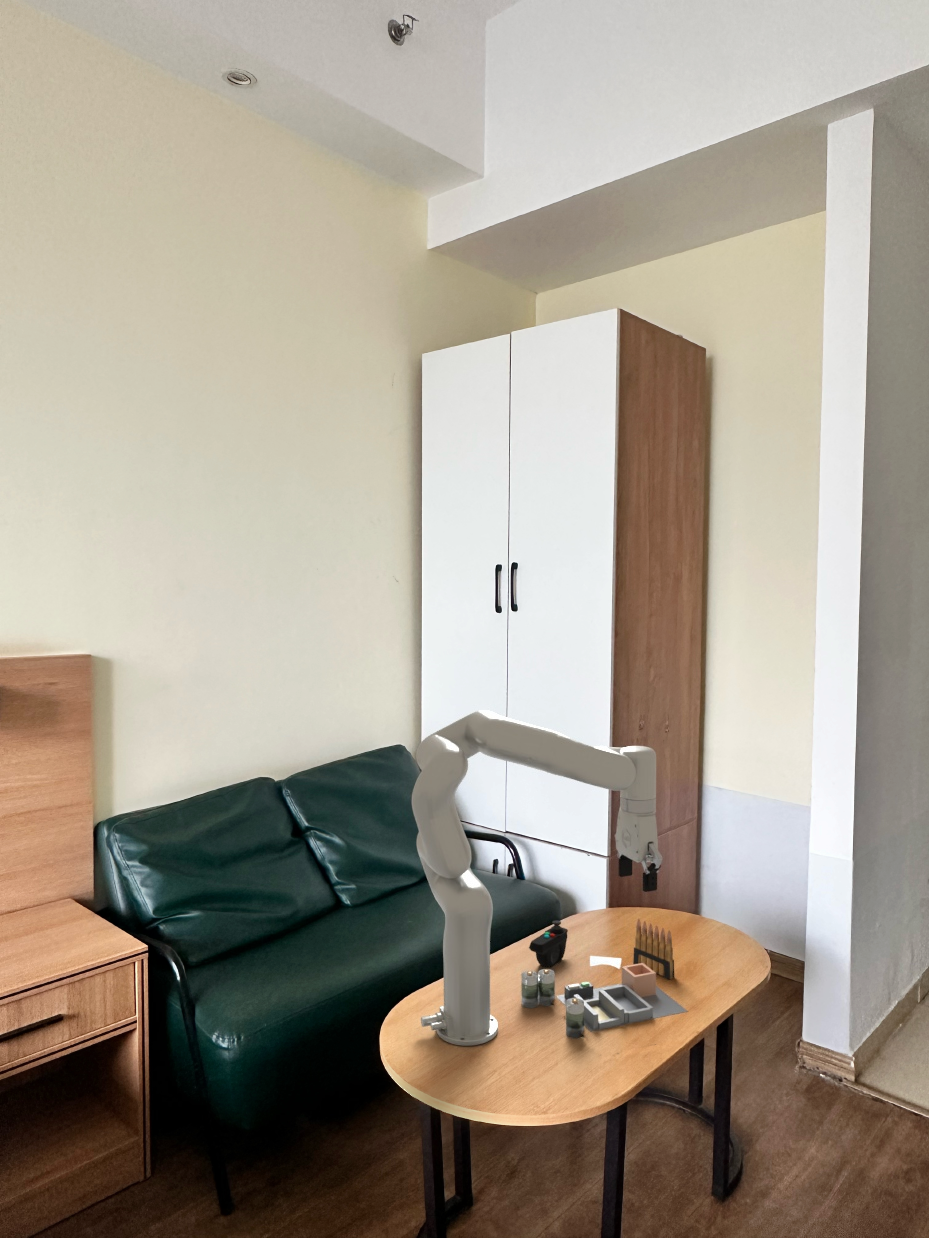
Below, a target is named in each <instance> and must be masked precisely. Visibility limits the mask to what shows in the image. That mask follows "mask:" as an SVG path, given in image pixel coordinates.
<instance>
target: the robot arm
mask: <svg viewBox="0 0 929 1238" xmlns="http://www.w3.org/2000/svg"><path fill="white" fill-rule="evenodd" d="M479 753H482V754H483V755H485V756H488V757H490V758H494V759H497V760H501V761H505V762H509V763H513V764H517V765H519V766H524V767H527V768H531V769H535V770H539V771H542V772H546V773H547V774H548V773H549V774H552V775H555V776H559V777H563V778H567V779H570V780H573V781H577V782H580V783H583V784H587V785H590V786H594V787H597V788H603V789H606V790H610V791H615V792H616V791H617V792H618V791H619V792H620V794H619V795H620V797H619V799H620V801H619V804H620V805H619V810H618V813H617V820H616V821H617V822H616V833H615V834H614V838H615V839H614V840H615V848H616V851H617V855H616V856H617V859H618V876H619V877H620V878H624V877H631V876H632V875H633V862H635V863H641V864H642V868H643V870H644V872H642V892H643V893H644V892H645V893H647V892H656V891H657V890H658V873H659V872H660V869H661V867H662V865H661V864H662V863H663V860H664V859H663V856H662V855H663V854H661V852H660V850H659V846H658V845H659V840H658V825H657V818H656V817H657V816H656V813H657V754H656V751H655V750H654V749H653V748H652V747H648V746H645V745H630V746H626V747H613V746H605V745H600V746H597V745H596V746H592V745H589V744H585V743H582V742H580V741H577V740H575V739H572V738H571V737H569V736H566V735H565V734H562V733H560V732H558V731H554V730H552V729H548V728H544V727H540V726H538V725H537V726H536V725H533V724H529V723H526V722H523V721H519V720H515V719H512V718H508V717H505V716H502V715H499V714H497V713H495V712H493V711H490V710H486V709H485V710H484V709H483V710H478V711H474V712H472V713H470V714H467V715H466V716H464V717H461V718H459V719H458V720H455V721H454V722H452V723H450V724H449V725H446V726H444V727H443V728H441V729H439V730H437V731H435V732H432V733H431V734H430V735H428V736H426V737H425V738H424V739H423V740H422V741H421V742H420V743H419V744H418V747H417V749H416V753H415V758H416V763H417V765H418V767H419V768H420V770H421V772H420V773H419V774H418V776H417V778H416V781H415V784H414V786H413V789H412V793H411V808H412V813H413V817H414V819H415V822H416V823H415V824H416V826H417V829H418V833H417V835H416V844H415V845H416V850H417V853H418V856H419V859H420V863H421V865H422V867H423V871H424V874H425V877H426V879H427V881H428V885H429V888H430V890H431V893H432V894H433V897H434V899H435V901H436V902H437V903H438V905H439V906H440V908H441V910H442V911H443V913H444V915H445V916H444V918H445V919H444V920H445V921H444V922H445V923H444V931H443V938H442V939H443V941H442V942H443V943H442V955H443V956H442V958H443V1005H442V1006H439V1011H438V1012H435V1014H432V1015H425V1016H421V1017H420V1024H421V1027H422V1028H425V1027H429V1026H430V1030H431V1031H436V1034H437V1035H438V1037H439V1038H440V1039H441V1040H443V1041H445V1042H447V1043H449V1044H452V1045H456V1046H467V1047H469V1046H472V1047H473V1046H477V1045H482V1044H485V1043H488V1042H489V1041H491V1040H492V1039H494V1038H495V1037H496V1035H497V1034H498V1032H499V1024H498V1021H497V1019H496V1018H495V1017H494V1016H492V1015H491V953H490V952H491V951H490V950H491V942H490V941H491V928H492V920H493V914H494V912H493V911H494V907H493V906H494V905H493V900H492V897H491V895H490V892H489V890H488V889H487V888H486V886H485V885H484V883H483V882H482V881H481V880H480V879H479V878H478V877H477V876H476V875H475V874H474V872H473V870H472V869H471V863H472V848H471V845H470V842H469V840H468V838H467V836H466V833H465V830H464V828H463V824H462V822H461V819H460V817H459V814H458V809H457V805H456V801H455V800H456V799H455V797H456V793H457V790H458V788H459V786H460V784H461V783H462V782H463V780H464V779H465V777H466V775H467V772H468V769H469V760H468V759H469V758H471V757H473V756H475V755H477V754H479ZM648 863H650V864H649V865H648Z"/></svg>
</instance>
